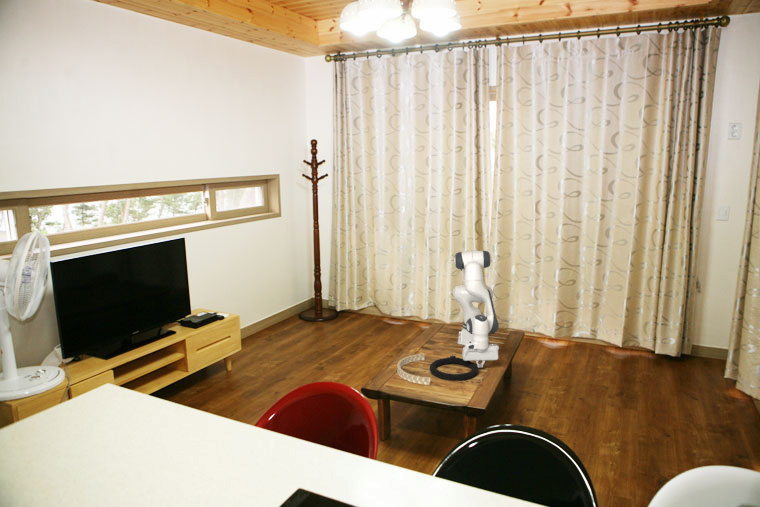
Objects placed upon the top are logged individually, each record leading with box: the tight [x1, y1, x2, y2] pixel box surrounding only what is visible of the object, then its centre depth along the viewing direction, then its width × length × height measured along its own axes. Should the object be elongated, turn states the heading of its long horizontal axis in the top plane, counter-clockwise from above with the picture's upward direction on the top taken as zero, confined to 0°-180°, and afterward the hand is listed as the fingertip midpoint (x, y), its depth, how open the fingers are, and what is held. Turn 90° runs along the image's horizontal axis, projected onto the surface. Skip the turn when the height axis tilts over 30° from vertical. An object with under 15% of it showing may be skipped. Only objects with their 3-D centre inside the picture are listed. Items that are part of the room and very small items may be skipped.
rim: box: [396, 353, 431, 386], centre depth 296 cm, size 37×17×4 cm, turn 0°
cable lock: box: [429, 355, 479, 382], centre depth 296 cm, size 28×4×30 cm
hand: (479, 367), depth 296 cm, fingers closed
